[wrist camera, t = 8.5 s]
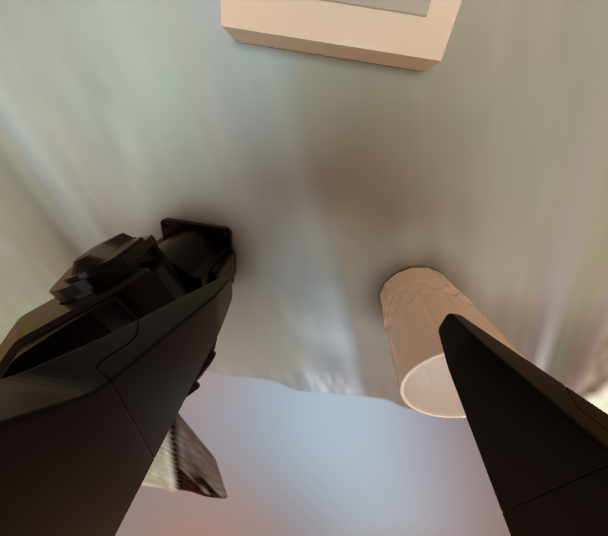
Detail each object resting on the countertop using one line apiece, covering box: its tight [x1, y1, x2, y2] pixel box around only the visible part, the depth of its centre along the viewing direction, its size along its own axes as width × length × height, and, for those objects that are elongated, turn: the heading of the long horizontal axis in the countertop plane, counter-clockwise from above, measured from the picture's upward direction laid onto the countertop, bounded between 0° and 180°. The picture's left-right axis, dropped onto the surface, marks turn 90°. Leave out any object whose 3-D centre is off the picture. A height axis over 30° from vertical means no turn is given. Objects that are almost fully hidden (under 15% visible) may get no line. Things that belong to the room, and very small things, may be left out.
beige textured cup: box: [380, 268, 527, 418], centre depth 19 cm, size 8×8×10 cm
